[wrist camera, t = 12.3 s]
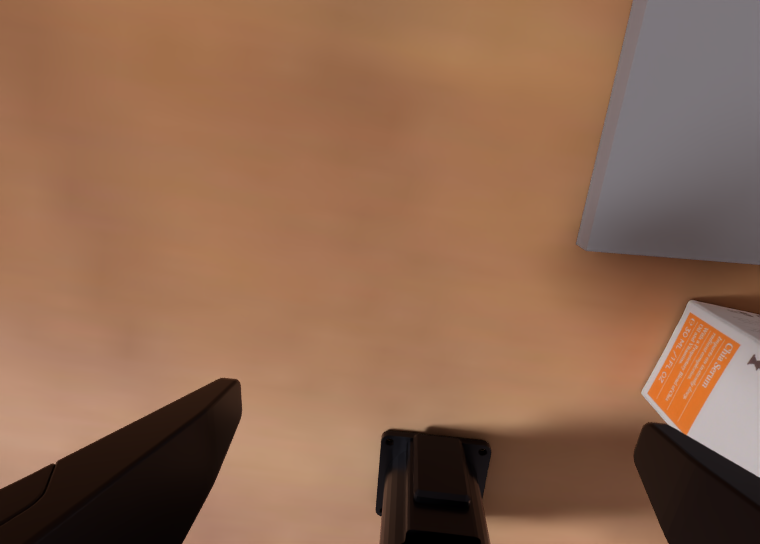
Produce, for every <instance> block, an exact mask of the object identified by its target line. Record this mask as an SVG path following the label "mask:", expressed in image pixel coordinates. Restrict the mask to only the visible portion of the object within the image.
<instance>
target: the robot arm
mask: <svg viewBox="0 0 760 544" xmlns="http://www.w3.org/2000/svg"><path fill="white" fill-rule="evenodd" d="M241 415H242V400H241V385H240V382H239V381H238V380H237V379H230V378H220V379H218V380H216V381H214V382H212V383H210V384H208V385H206V386H204V387H202V388H200V389H198V390H196V391H194V392H192V393H190V394H188V395H186V396H184V397H182V398H180V399H178V400H176V401H174V402H172V403H170V404H168V405H166V406H164V407H163V408H161V409H159V410H157V411H155V412H153V413H151V414H149V415H147V416H145V417H143V418H141V419H139V420H137V421H135V422H133V423H131V424H129V425H127V426H125V427H123V428H121V429H119V430H117V431H115V432H113V433H111V434H109V435H107V436H105V437H103V438H101V439H100V440H98V441H96V442H94V443H92V444H90V445H88V446H86V447H84V448H82V449H80V450H78V451H76V452H74V453H72V454H70V455H68V456H66V457H64V458H62V459H60V460H58V461H57V462H56V464H50V465H48V466H46V467H44V468H42V469H40V470H38V471H36V472H34V473H33V474H31V475H29V476H27V477H25V478H22V479H20V480H18V481H16V482H14V483H12V484H10V485H8V486H6V487H4V488H2V489H0V544H182V543H183V541H184V539H185V538H186V536H187V534H188V532H189V530H190V528H191V526H192V524H193V523H194V521H195V519H196V517H197V515H198V513H199V511H200V509H201V508H202V506H203V504H204V502H205V500H206V498H207V496H208V494H209V492H210V490H211V489H212V487H213V485H214V482H215V480H216V478H217V476H218V473H219V471H220V468H221V466H222V463H223V461H224V459H225V456H226V454H227V451H228V449H229V446H230V444H231V441H232V439H233V436H234V434H235V432H236V429H237V427H238V424H239V422H240V419H241ZM387 439H392V441H389V440H387ZM480 449H485V450H482V451H481V450H480ZM490 457H491V448H490V445H489V443H488V442H486V441H483V440H474V439H464V438H455V437H446V436H436V435H427V434H417V433H408V432H398V431H386V432H384V433H383V434H382V439H381V450H380V463H379V475H378V488H377V500H376V513H377V514H378V515H379V516H382V519H381V532H380V544H490V539H489V534H488V529H487V524H486V518H485V513H484V508H483V503H482V498H483V493H484V488H485V482H486V477H487V472H488V467H489V462H490ZM634 462H635V465H636V468H637V470H638V472H639V475H640V477H641V480H642V482H643V485H644V487H645V490H646V492H647V494H648V497H649V499H650V502H651V504H652V507H653V509H654V511H655V514H656V516H657V519H658V521H659V524H660V526H661V528H662V530H663V533H664V535H665V537H666V539H667V541H668V543H669V544H760V477H758V476H756V475H755V474H753V473H751V472H749V471H748V470H746V469H744V468H743V467H741V466H739V465H737V464H736V463H734V462H732V461H730V460H729V459H727V458H725V457H724V456H722V455H720V454H718V453H717V452H715V451H713V450H711V449H710V448H708V447H706V446H705V445H703V444H701V443H699V442H698V441H696V440H694V439H692V438H691V437H689V436H687V435H686V434H684V433H682V432H680V431H679V430H677V429H675V428H673V427H672V426H670V425H667V424H662V423H652V422H648V423H646V424H645V425H644V426H643V428H642V430H641V433H640V436H639V439H638V442H637V444H636V447H635V450H634Z"/></svg>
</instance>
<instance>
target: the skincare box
mask: <svg viewBox="0 0 760 544" xmlns="http://www.w3.org/2000/svg"><path fill="white" fill-rule="evenodd" d="M641 393H642V395H643V396H644V398H645V399H646V400H647V401H648V402H649V403H650V404H651V406H652V407H653V408H654V409H655V410H656V411H657V412H658V414H659V415H660V416H661V417H662V418H663V419H664V420H665V422H666V423H667V424H668V425H670V426H672V427H673V428H675V429H677V430H679V431H680V432H682V433H684V434H686V435H687V436H689V437H691V438H692V439H694V440H696V441H698V442H699V443H701V444H703V445H705V446H706V447H708V448H710V449H711V450H713V451H715V452H717V453H718V454H720V455H722V456H724V457H725V458H727V459H729V460H730V461H732V462H734V463H736V464H737V465H739V466H741V467H743V468H744V469H746V470H748V471H749V472H751V473H753V474H755V475H756V476H758V477H760V315H759V314H754V313H750V312H746V311H741V310H736V309H731V308H727V307H722V306H717V305H713V304H708V303H704V302H699V301H695V300H690V301H689V302H688V303H687V306H686V308H685V310H684V313H683V315H682V317H681V319H680V321H679V323H678V324H677V326H676V328H675V330H674V332H673V334H672V336H671V338H670V340H669V342H668V344H667V346H666V348H665V350H664V352H663V354H662V355H661V357H660V359H659V361H658V363H657V364H656V366H655V368H654V370H653V372H652V373H651V375H650V377H649V379H648V381H647V382H646V384H645V386H644V388H643V390H642V392H641Z"/></svg>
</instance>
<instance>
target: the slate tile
mask: <svg viewBox="0 0 760 544" xmlns="http://www.w3.org/2000/svg"><path fill="white" fill-rule="evenodd" d="M576 245H578V246H579V247H581V248H583V249H584V250H586V251H594V252H607V253H619V254H631V255H644V256H656V257H669V258H681V259H694V260H706V261H719V262H731V263H744V264H756V265H760V0H633V3H632V8H631V12H630V16H629V20H628V25H627V29H626V33H625V37H624V42H623V46H622V50H621V54H620V59H619V63H618V67H617V71H616V76H615V80H614V84H613V88H612V93H611V97H610V101H609V106H608V110H607V114H606V118H605V123H604V127H603V131H602V135H601V140H600V144H599V148H598V152H597V157H596V161H595V165H594V169H593V174H592V178H591V182H590V186H589V191H588V195H587V199H586V203H585V208H584V212H583V216H582V221H581V225H580V229H579V233H578V238H577V242H576Z"/></svg>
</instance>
